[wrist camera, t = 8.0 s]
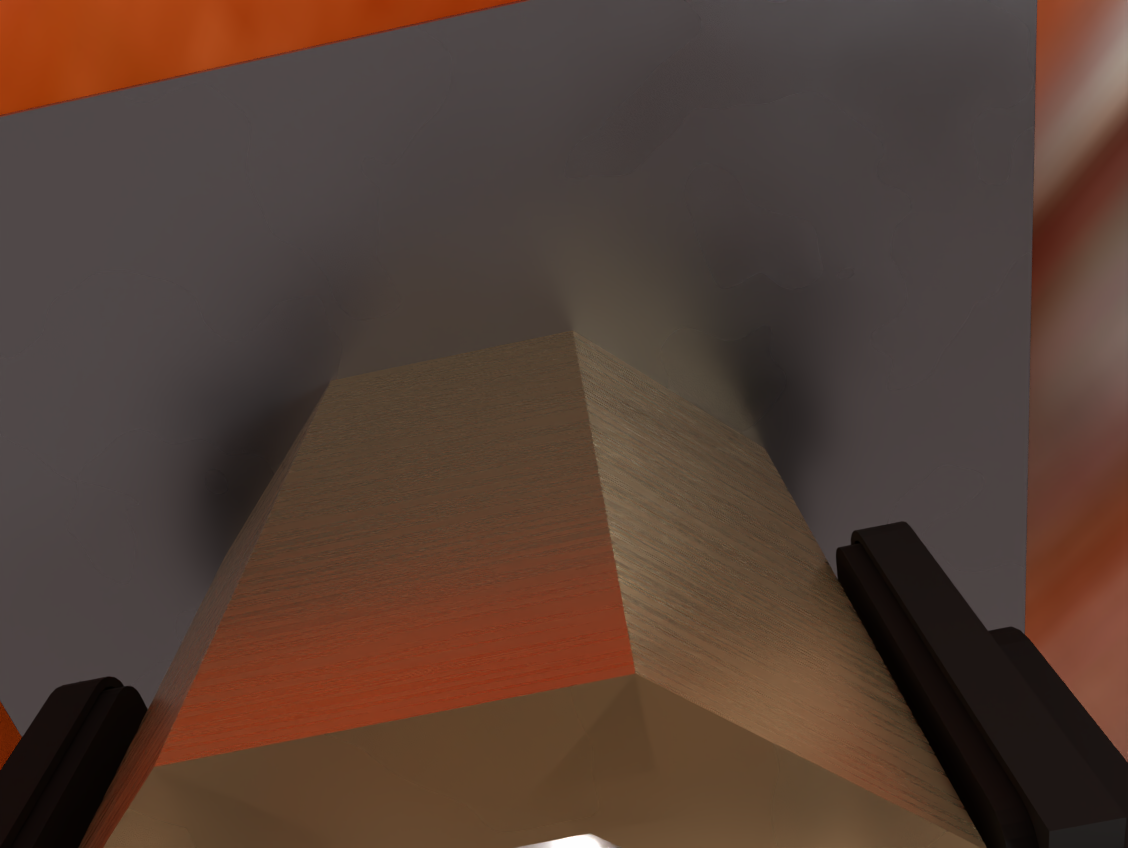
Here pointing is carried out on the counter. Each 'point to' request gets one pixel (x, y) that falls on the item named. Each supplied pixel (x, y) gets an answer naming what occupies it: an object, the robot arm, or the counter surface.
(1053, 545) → the counter surface
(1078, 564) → the counter surface
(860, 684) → the hub ring
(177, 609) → the shaft block
